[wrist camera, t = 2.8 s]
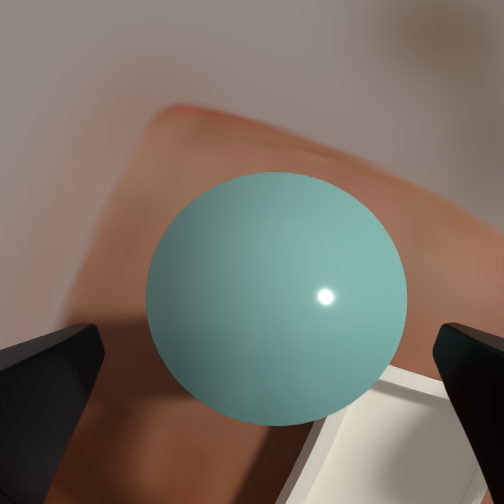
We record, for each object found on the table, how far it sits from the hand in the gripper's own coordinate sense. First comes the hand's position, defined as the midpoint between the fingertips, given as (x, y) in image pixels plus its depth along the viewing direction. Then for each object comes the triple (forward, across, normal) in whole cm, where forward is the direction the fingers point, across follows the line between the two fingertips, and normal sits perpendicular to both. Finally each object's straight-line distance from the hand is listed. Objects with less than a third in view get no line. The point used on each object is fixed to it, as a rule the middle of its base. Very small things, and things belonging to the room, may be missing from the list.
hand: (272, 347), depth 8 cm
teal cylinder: (+7, 0, -6) cm, 10 cm away
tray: (+1, +7, -12) cm, 14 cm away
